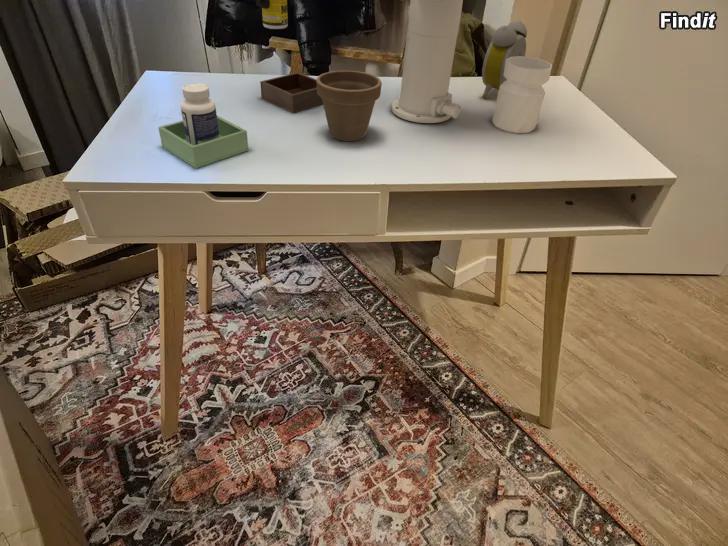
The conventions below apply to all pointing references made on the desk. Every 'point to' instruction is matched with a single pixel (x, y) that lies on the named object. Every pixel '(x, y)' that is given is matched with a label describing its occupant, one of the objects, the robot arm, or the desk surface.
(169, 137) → the green tray
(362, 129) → the flower pot
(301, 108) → the walnut tray
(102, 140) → the desk surface
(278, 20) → the supplement bottle
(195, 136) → the pill bottle
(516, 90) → the vase
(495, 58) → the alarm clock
